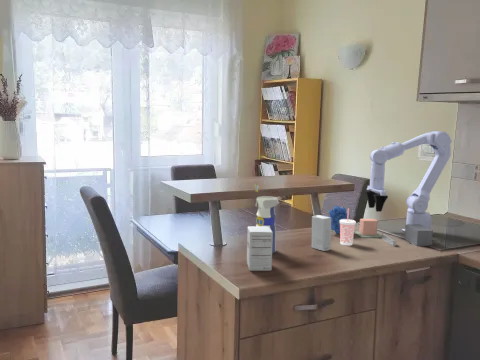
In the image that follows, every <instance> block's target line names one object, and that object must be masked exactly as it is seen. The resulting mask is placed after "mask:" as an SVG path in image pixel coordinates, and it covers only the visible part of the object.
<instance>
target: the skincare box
mask: <svg viewBox="0 0 480 360" xmlns="http://www.w3.org/2000/svg"><path fill="white" fill-rule="evenodd" d="M331 247H332V230H331V218H330V217H329V216H327V215H320V214H317V215H313V216H311V248H312V249H315V250H319V251H322V252H326V251H327V252H328V251H330V250H331Z"/></svg>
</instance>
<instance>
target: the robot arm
mask: <svg viewBox="0 0 480 360" xmlns="http://www.w3.org/2000/svg"><path fill="white" fill-rule="evenodd" d="M452 141H453V140H452V139H451V137H450V135H449V133H448V132H446V131H439V130H438V131H437V130H433V131H432V130H431V131H430V132H424V133H423V134H420V135H418V136H415V137H413V138H411V139H409V140H406V141H404V142H402V143H401V142H399V141H397V142H395V141H393V142H390V144H388V145H386V146H380V149H374V150H373V151H372V152H371V153H370V155H369V160H370V161H371V166H370V177H369V185H367V188H366V190H365V191H364V194H365V196H366V198H367V204H368V208H369V209H374V208H375V212H380V213H381V212H382V211H383V208H384V205H385V202H386V201H387V199H388V198H389V196H388V195H386V194H387V191H386V190H385V188H384V187H385V171H386V163H387V161H389V160H392V159H395V158H397V157H400V156H402V155H404V152H405V151H407V150H410V149H413V148H415V147H418V146H421V145H429V146H430V147H431V148H432V150H433V152H434V155H435V156H434V157H433V159H432V161H431V163H430V165H429V167H428V168H427V170H426V172H425V174H424V176H423V178H422V180H421V181H420V183H419V185H418V187H417V188H416V189H415V190H414V191H412V193H411V195H409V196H408V197H407V198H406V202H405V203H406V207H408V208H407V209H406V211H407V212H406V221H405V223H406V224H420V225H422V226H424V227H426V228H428V229H430V230H432V229H431V228H432V216H431V214H430V213H429V212H427V210H428V206H429V201H430V200H431V199H430V198H431V197H430V196H431V192H432V190H433V188H434V187H435V184H436V183H437V181H438V180H439V177H440V176H441V174H442V172H443V171H444V168H445V167H446V166H447V163H448V161H449V159H450V158H451V144H452ZM406 224H405V225H406ZM401 230H402V231H403V232H405V228H401Z"/></svg>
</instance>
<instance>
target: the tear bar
mask: <svg viewBox="0 0 480 360" xmlns="http://www.w3.org/2000/svg"><path fill="white" fill-rule="evenodd" d="M381 236H382V237H381V240H383V241H385V243H387V244H389V245H390V246H392V247H396V245H397V241H396V240H395V239H393V238H391V237H390V236H388V235H387V234H385V233H384V234H383V233H382V235H381Z"/></svg>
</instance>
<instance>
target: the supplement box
mask: <svg viewBox="0 0 480 360" xmlns="http://www.w3.org/2000/svg"><path fill="white" fill-rule="evenodd" d="M246 237H247V238H246V239H247V240H246V241H247V242H246V264H247V266H248V270H249V271H251V272H252V271H253V272H255V271H256V272H257V271H258V272H259V271H262V272H263V271H268V272H269V271H272V269H273V266H272V265H273V262H272V261H273V253H272V243H273V232H272V230H271V229H270V227H269V226H256V225H255V226H254V225H253V226H249V225H248V226H247V235H246Z"/></svg>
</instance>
